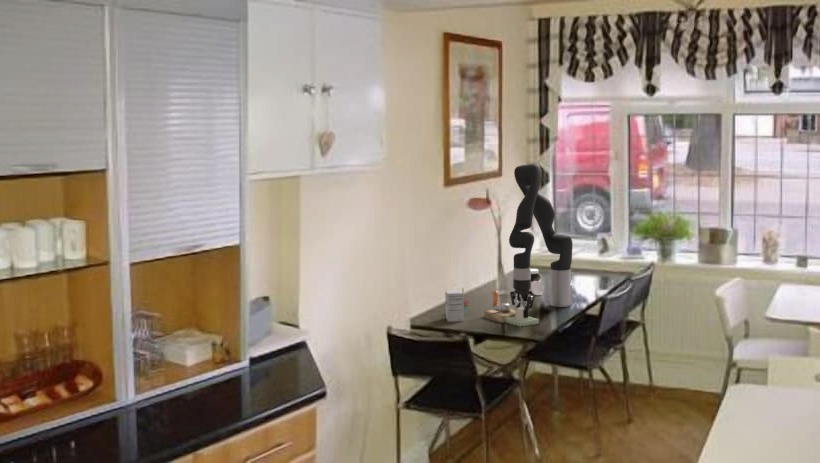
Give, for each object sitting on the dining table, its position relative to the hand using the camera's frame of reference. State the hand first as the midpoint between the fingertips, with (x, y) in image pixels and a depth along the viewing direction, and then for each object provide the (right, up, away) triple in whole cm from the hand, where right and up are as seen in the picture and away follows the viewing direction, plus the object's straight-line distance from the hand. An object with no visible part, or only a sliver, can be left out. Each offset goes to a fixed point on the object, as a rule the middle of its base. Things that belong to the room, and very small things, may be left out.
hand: (522, 316), depth 423 cm
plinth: (-6, -2, +10) cm, 12 cm away
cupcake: (-26, -1, +22) cm, 34 cm away
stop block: (0, -2, 0) cm, 2 cm away
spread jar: (+13, +6, +63) cm, 65 cm away
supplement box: (-29, -2, +10) cm, 30 cm away
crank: (-8, +2, +13) cm, 16 cm away
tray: (0, -3, 0) cm, 3 cm away
